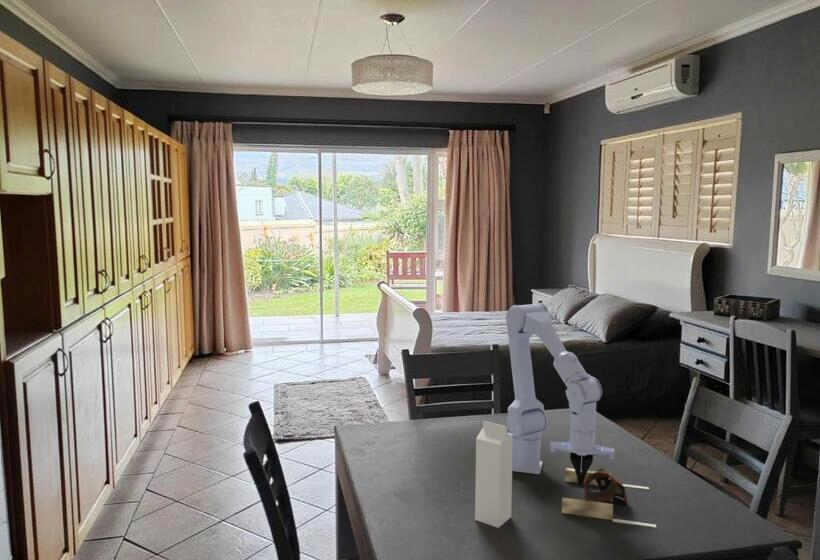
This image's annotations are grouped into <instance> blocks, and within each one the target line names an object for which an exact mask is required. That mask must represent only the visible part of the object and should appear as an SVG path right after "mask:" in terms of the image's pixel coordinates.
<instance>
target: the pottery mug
mask: <svg viewBox="0 0 820 560" xmlns="http://www.w3.org/2000/svg"><path fill="white" fill-rule="evenodd" d="M596 471H597V472H595V473H593V474H591V475H590V476H588V477H587V479H586V480H585V482H584V484H583V486H584V491H583V496H584V497H583V498H584V500H586V501H593V502H601V503H606V502H610V503H614V498H613V497H619V498H621V499H623V501H625V506H629V501H628V494H627V493H626V489H625V488H626V487H624V486H623V484H624V483H622V481H620V479H618V478H617V477H616V476H614V475H613V474H612V473H611V472H608V471H606V469H604V468H603V467H601V468H598V469H597V470H596ZM610 473H611V474H610ZM608 478H610V479H611V480H610V479H608ZM594 479H595V481H596V482H597V484H598V485H597V486H598V489H599V491H594V490H590V489H589V485H590V484H589V483H590V482H591V481H592V480H594Z"/></svg>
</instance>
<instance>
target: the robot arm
mask: <svg viewBox="0 0 820 560" xmlns="http://www.w3.org/2000/svg"><path fill="white" fill-rule="evenodd" d="M505 321H506V330H507V337H508V346H509V347H508V348H509V355H510V356H509V357H510V364H511V374H512V383H513V392H514V393H513V394H514V400H513V402H511V404H510V405H509V406H508V407H507V419H506V427H507V431H508V432H507V433H508V434H509V435H511V436H513V453H512V472H518V473H526V474H533V475H541V471H542V467H543V464H544V463H543V461H542V460H541V439H542V438H541V437H542V436H543V435H544V432H545V431H546V429H548V424H549V423H548V421H549V420H548V419H549V418H548V416H547V413H546V412H545V407H544V404H543V402H541V401H540V400H538V399H537V397H536V391H535V390H536V389H535V382H534V381H535V379H534V372H533V364H532V363H533V361H532V355H531V346H530V339H531V338H532V336H533V335H536V336H537V337H538V338H539V339H540V341H541V342H542V343H543V345H544V346H545V348H546V349H547V350H548V351H549V353H550V354H551V356H552V357H553V363H552V364H553V367H554V369H555V370H556V372H557V373H558V375H559V377H560V378H561V380H562V382H563V383H564V384H565V387H566V388H567V389H565V396H566V398H567V400H568V408H569V410H570V424H569V425H570V426H569V441H561V442H560V441H551V442H550V453H554V454H555V453H563V454H565V453H566V454H569V455H570V456H569V459H570V462H571V464H572V467H573V469H575V472H576V475H577V480H578V483H577V485H578V486H584V479H585V476H586V473H587V471H588V470H589V469H590V467H591V466H592V464H593V461H594V457H600V458H607V459H610V460H614V459H615V448H613V447H607V446H601V445H598V444H596V443H595V442H596V419H597V418H596V417H597V415H596V414H597V402H598V401H600V399H601V398H602V396H603V389H602V385H601V383H600V381H599V379H597V378H596V377H594V376H592V375H591V374H590V373H587V371H586V370H585V369H584V367H583V365H582V364H581V363H580V361H579V358H578V357H577V355H576V354H575V353H574V352H571V351H567V349H566V347H565V345H564V344H563V342H562V341H561V338H560V337H559V334H558V333H557V331H556V330H555V327H554V326H553V324H552V313H551V312H550V311H549V309H548V307H547V305H546V304H544V303H543V302H538V303H531V304H522V305H521V304H517V305H516V304H514V305H512V306H511V307H509V308H508V310H507V312H506V313H505ZM581 470H582V471H581Z"/></svg>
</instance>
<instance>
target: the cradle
mask: <svg viewBox="0 0 820 560" xmlns="http://www.w3.org/2000/svg"><path fill="white" fill-rule="evenodd" d="M581 471H582V469H581ZM595 472H597V470H589V469H588V471H587V473H586V476H585V479H584V482H585V480H586V479H587V477H588V476H590V475H591V474H593V473H595ZM609 473H610V474H611V475H612V473H611V472H609ZM564 479H565V481H564V482H567V483H568V482H569V483H574V482H575V483H576V484H578V480H577V475H576V472H575V469H574V467H573V468H571V467H566V468H565V478H564ZM608 479H610V478H608ZM610 480H611V479H610ZM589 485H593V486H598V484H597V482H596V481H595V479H594V480H592V481H591V482H590V483H589ZM561 499H562V500H561V513H562V514H565V515H566V514H567V515H568V514H569V515H575V516H582V517H590V518H596V519H603V520H611V521H613V519H614V518H613V515H614V504H613V503H607V502H602V503H601V502H593V501H586V500H585V499H578V498H570V497H562V498H561Z"/></svg>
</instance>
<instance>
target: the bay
mask: <svg viewBox="0 0 820 560" xmlns="http://www.w3.org/2000/svg"><path fill="white" fill-rule="evenodd" d="M622 484H623V486H624V488H633V489H640V490H648V491H649V490H650V488H649V486H642V485H635V484H634V485H633V484H625V483H622ZM612 522H614V523H621V524H627V525H633V526H640V527H641V526H642V527H647V528H657V525H656V524H653V523H645V522H639V521H632V520H626V519H617V518H613V520H612Z"/></svg>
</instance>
